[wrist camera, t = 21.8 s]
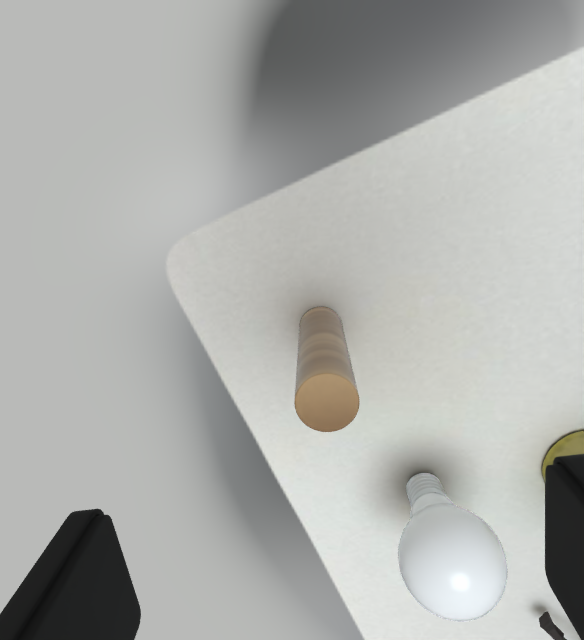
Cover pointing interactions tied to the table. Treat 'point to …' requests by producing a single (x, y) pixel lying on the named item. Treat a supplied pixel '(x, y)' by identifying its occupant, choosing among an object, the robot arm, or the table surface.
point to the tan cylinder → (324, 373)
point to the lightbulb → (449, 555)
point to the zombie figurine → (550, 627)
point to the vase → (565, 448)
